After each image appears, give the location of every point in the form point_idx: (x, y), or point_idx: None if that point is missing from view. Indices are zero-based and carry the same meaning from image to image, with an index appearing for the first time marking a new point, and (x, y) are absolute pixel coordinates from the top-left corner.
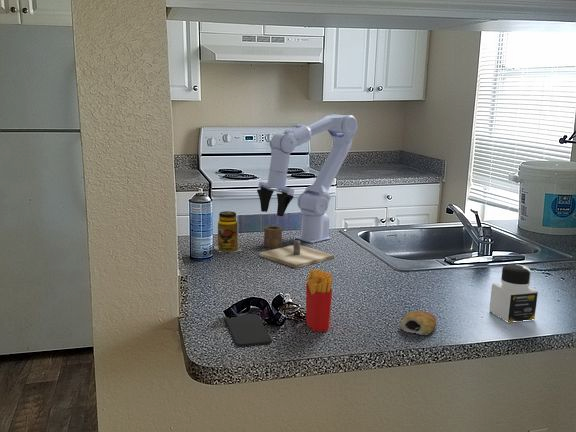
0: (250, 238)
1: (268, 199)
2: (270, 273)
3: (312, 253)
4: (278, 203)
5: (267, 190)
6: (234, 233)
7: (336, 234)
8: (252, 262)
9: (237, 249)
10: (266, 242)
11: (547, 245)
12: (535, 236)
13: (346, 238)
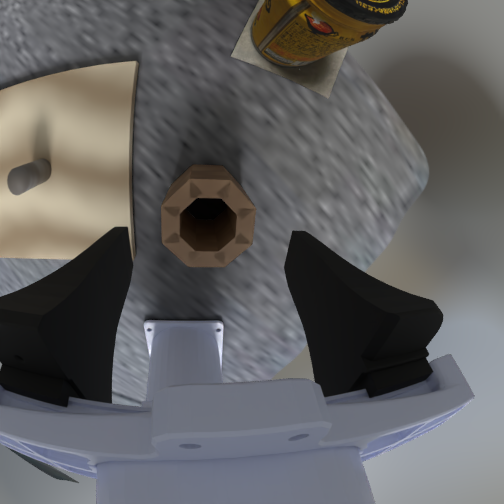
0: (337, 211)
1: (313, 333)
2: (14, 13)
3: (24, 218)
4: (81, 271)
5: (350, 385)
6: (267, 4)
7: None
8: (106, 7)
9: (263, 57)
10: (207, 167)
11: (29, 458)
12: (62, 475)
13: (142, 398)
